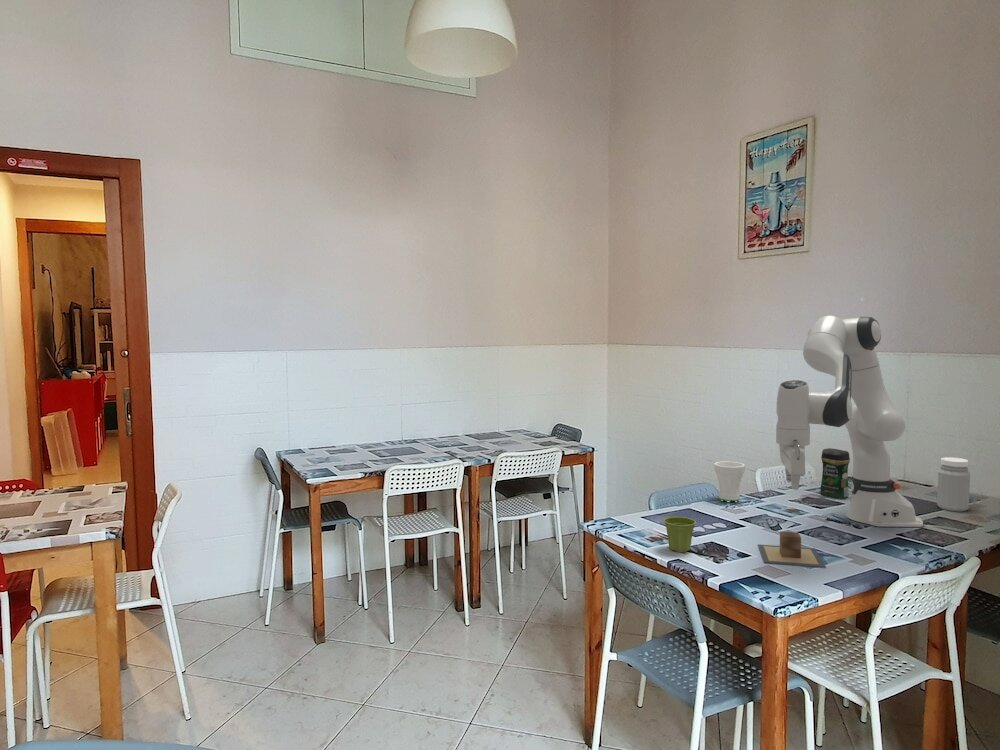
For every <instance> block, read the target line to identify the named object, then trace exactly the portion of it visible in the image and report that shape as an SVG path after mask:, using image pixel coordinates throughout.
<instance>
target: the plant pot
mask: <svg viewBox="0 0 1000 750" xmlns="http://www.w3.org/2000/svg"><path fill="white" fill-rule="evenodd" d="M663 523H664V525H665V526H664V527H665V528H666V532H667V541H668V549H669V550H670V551H674V552H677V553H687V552H688V551H691V548H692V547H691V546H692V539H693V532H694V529H695V525H697V521H696V520H695V519H693V518H690V517H684V516H683V517H682V516H669V517H665V518H663Z"/></svg>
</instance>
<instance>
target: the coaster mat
mask: <svg viewBox="0 0 1000 750" xmlns="http://www.w3.org/2000/svg"><path fill="white" fill-rule="evenodd" d="M757 547H758V550H759V553H760V555H761V558H762V561H763V564H769V565H770V564H771V565H783V566H794V567H795V566H797V567H808V568H809V567H811V568H821V569H822V568H823V569H824V568H825V569H826V568H827V566H826V564H825V563H824V561H823V559H822V558H821V556H820V554H819V553H818V551H817V550H816V548H814V547H802V546H801V558H789V557H782V556H781V554H780V545H772V544H759V543H758V544H757Z"/></svg>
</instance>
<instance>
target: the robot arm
mask: <svg viewBox="0 0 1000 750" xmlns="http://www.w3.org/2000/svg"><path fill="white" fill-rule="evenodd" d="M881 338H882V330H881V326H880V324H879V322H878V320H877V319H875V318H874V317H872V316H860V317H853V318H852V317H850V318H840V317H838V316H835V315H829V314H828V315H825V316H821V317H820V318H819V319H817V320H816V321H815V322H814V324H813V326H812V327H811V328H810V330H809V332H808V333H807V337H806V340H805V342H804V345H803V351H802V355H803V358H804V361H805V363H806V364H807V365H808V366H809V367H810V368H812V369H813V370H815V371H817V372H820V373H824V374H828V375H830V376H833V377H834V379H835V381H834V389H833V390H830V391H824V390H823V391H821V390H820V391H819V390H810V389H809V384H808V382H806V381H805V380H804V381H802V380H786V381H785V380H784V381H783V382H781V383H780V384H779V386H778V391H777V397H776V414H777V422H776V429H775V431H776V432H775V433H776V434H775V438H776V439H775V440H776V441H775V443H776V444H778V446H779V455H780V456H779V457H780V462H781V464H782V465H783V466H784V470H785V481H786V482H787V483H790V485H791V486H790V488H791V489H792V490H793V491H797V490H799V489H800V481H801V477H805V475H806V453H805V450H806V446H810V442H811V439H810V438H811V426H810V425H821V426H823V425H825V426H828V427H833V428H834V427H835V428H841V427H842V426H845V428H846V429H847V432H848V435H849V440H850V444H851V451H852V457H853V458H852V465H853V466H852V476H851V480H850V492H851V497H850V502H849V507H848V509H847V510H848V511H847V513H846V517H847V518H848V519H850V520H852V521H855V522H858V523H863V524H868V525H870V526H874V527H884V528H885V527H889V528H890V527H897V528H898V527H903V528H904V527H906V528H909V527H910V528H912V527H913V528H914V527H915V528H917V527H918V528H923V526H924V521H923V519H922V518H921V517H919V516H917V515H916V511H915V508H914V505H913V504H912V502H910V501H909V500H908V499H907V498H906V497H904V496H903V495H902V494H900V493H899V492H897V490H900V489H901V488H902V485H901V484H900V483H898V482H897V481H894V480H893V479H891V456H890V453H889V452H888V450H887V449H886V445H885V442H890V441H891V442H893V441H896V440H898V439H899V438H900V437H902V436H903V434H904V432H905V431H906V430H905V429H906V424H905V419H904V418H903V417H902V416H901V415H900V414H899V413H898V411H897V410H896V408H895V406H894V405H893V404H894V403H893V402H892V399H890V395H889V394H888V392H887V390H886V387H885V384H884V379H883V375H882V371H881V366H880V361H879V357H878V354H877V351H876V349H875V347H877V346H878V345H879V343H880V342H881ZM852 400H853V402H854V404H853V405H852Z"/></svg>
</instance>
